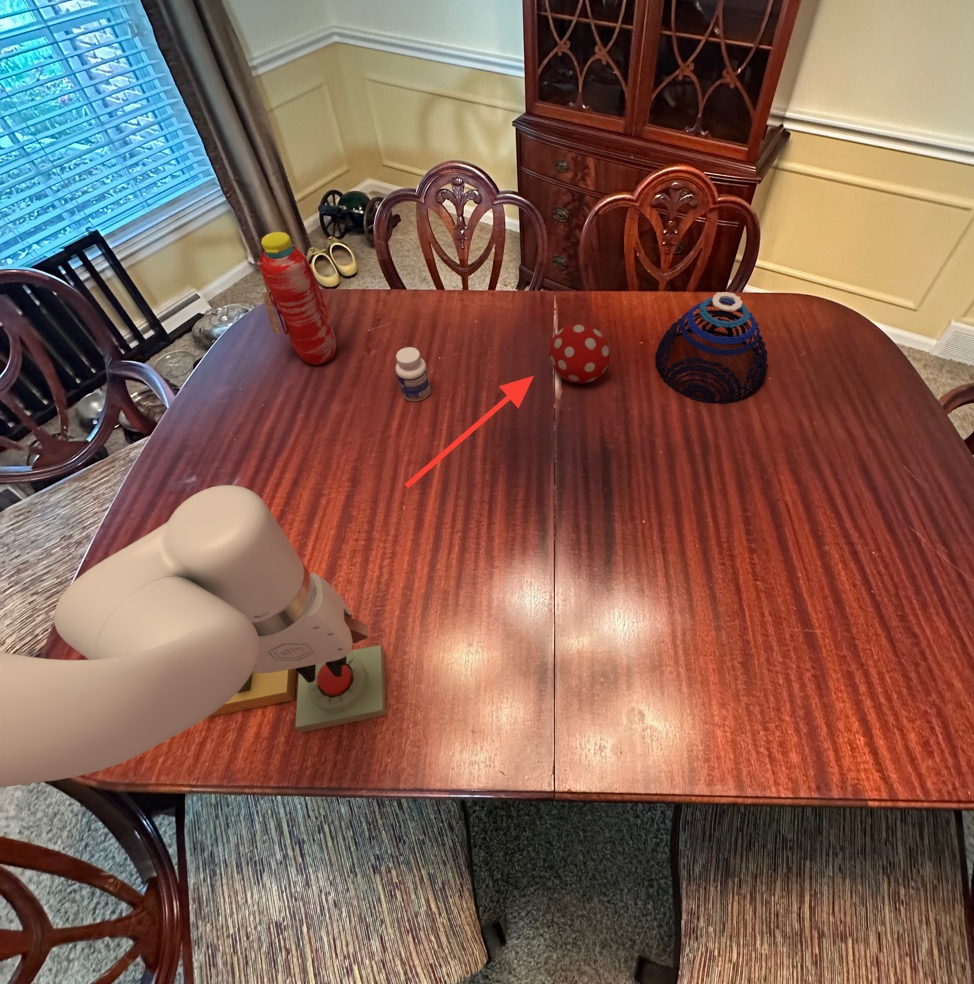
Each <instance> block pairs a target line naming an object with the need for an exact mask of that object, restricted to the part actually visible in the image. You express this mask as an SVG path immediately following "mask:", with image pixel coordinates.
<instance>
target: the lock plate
mask: <svg viewBox="0 0 974 984" xmlns="http://www.w3.org/2000/svg"><path fill="white" fill-rule="evenodd" d="M296 681H297V671H296V670H295V669H293V670H283V671H278V672H271V673H257V672H255V671H253V672H252V680H251V688H250V691H245V692H239V693H236V694H235V695H234V696H233V697H232V698H231V699H230V700H229V701H228V702H227V703H225V704H224V705H223V706H222V707H221V708H219V709H218V710H217V711H215V712H214V713H212V714H211V715H209V716H208V717H211V718H212V717H216V716H220V715H221V716H222V715H226V714H231V713H237V712H241V711H245V710H246V711H247V710H251V709H256V708H261V707H265V706H271V705H272V706H273V705H276V704H281V703H286V702H291V701H295V700H296V699H295V697H296V683H297V682H296Z"/></svg>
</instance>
